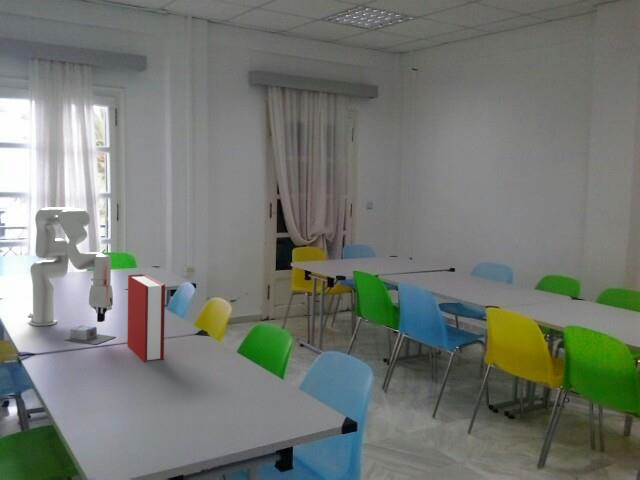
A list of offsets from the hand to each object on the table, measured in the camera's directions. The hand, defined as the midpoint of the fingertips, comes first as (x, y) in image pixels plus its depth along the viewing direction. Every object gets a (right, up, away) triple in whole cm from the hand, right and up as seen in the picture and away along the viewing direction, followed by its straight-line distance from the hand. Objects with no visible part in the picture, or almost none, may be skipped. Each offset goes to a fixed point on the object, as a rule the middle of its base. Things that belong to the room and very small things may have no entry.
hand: (100, 321), depth 274 cm
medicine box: (-5, -6, +2) cm, 8 cm away
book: (+24, -12, -15) cm, 31 cm away
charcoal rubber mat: (-6, -9, +2) cm, 10 cm away
